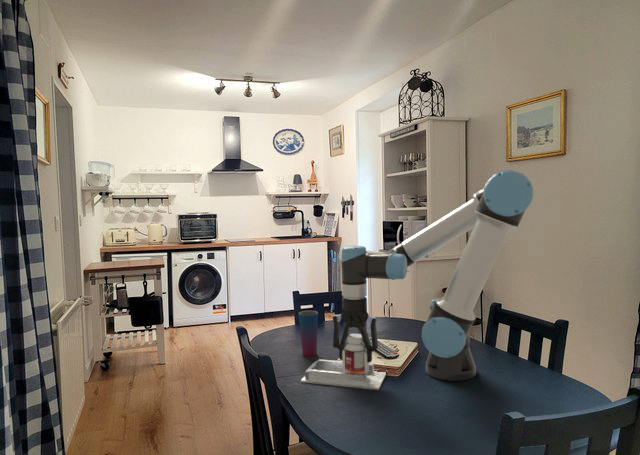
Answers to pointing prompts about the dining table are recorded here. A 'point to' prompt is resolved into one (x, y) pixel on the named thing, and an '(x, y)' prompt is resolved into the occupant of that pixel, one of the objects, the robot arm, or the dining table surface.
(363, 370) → the pill bottle
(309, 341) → the cup
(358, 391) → the dining table surface
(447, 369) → the robot arm
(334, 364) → the white shallow tray
